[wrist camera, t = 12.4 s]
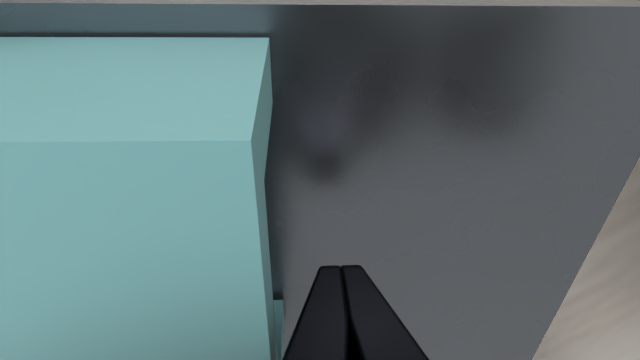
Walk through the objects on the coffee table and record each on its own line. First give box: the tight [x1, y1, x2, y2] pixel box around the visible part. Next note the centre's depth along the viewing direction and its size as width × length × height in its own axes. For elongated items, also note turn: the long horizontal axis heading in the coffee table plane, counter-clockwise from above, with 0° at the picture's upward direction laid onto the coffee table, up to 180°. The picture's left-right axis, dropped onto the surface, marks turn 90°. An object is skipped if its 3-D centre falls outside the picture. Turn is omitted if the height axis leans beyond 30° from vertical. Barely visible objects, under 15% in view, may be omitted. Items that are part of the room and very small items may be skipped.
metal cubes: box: [0, 0, 640, 360], centre depth 10 cm, size 20×15×4 cm
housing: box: [0, 37, 285, 360], centre depth 8 cm, size 7×8×4 cm
